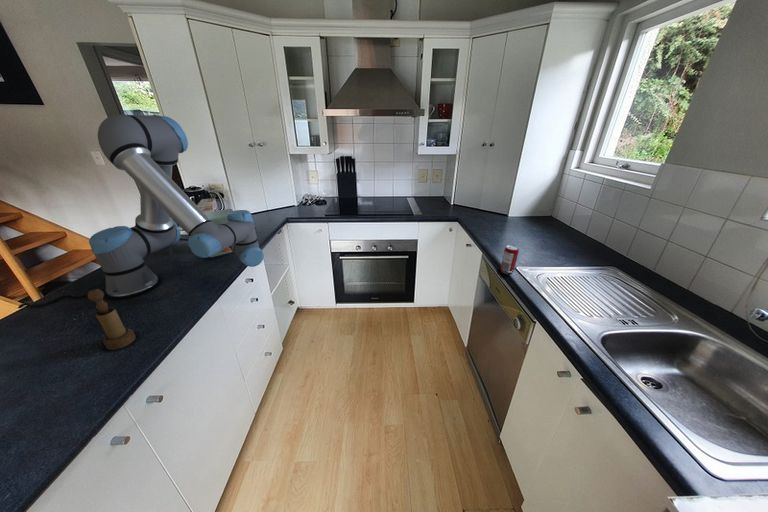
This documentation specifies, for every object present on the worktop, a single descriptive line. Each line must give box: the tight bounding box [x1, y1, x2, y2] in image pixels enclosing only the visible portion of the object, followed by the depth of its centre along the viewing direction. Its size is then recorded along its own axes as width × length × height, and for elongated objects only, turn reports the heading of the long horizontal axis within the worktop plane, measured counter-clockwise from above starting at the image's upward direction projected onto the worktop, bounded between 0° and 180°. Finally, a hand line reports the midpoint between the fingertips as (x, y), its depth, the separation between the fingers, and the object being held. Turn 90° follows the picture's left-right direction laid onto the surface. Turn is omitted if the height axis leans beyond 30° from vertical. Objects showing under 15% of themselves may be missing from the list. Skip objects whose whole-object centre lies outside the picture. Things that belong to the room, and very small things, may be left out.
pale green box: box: [204, 208, 234, 258], centre depth 133 cm, size 16×12×19 cm
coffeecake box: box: [196, 197, 219, 213], centre depth 151 cm, size 15×7×20 cm, turn 22°
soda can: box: [499, 244, 520, 275], centre depth 118 cm, size 6×6×12 cm
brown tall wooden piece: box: [86, 288, 137, 351], centre depth 76 cm, size 7×6×18 cm
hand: (226, 230), depth 120 cm, fingers open, 13 cm apart
